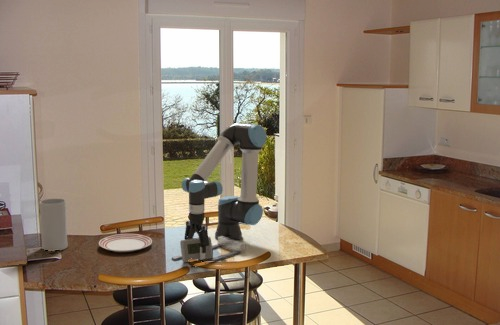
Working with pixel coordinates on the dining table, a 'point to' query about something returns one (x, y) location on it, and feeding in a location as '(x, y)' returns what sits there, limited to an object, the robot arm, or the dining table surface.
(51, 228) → the cylinder vase
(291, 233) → the dining table surface
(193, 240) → the digital clock
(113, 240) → the dinner plate
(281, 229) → the dining table surface
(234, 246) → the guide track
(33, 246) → the dining table surface
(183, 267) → the dining table surface
